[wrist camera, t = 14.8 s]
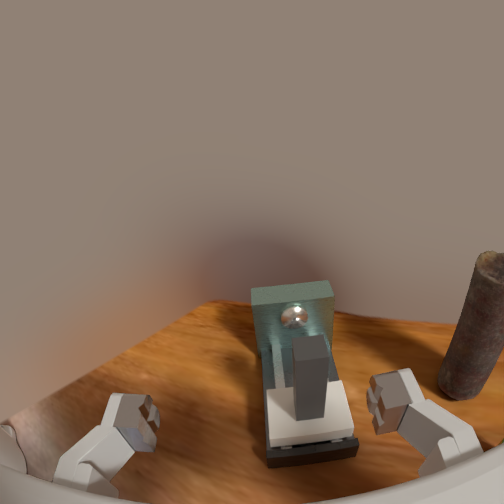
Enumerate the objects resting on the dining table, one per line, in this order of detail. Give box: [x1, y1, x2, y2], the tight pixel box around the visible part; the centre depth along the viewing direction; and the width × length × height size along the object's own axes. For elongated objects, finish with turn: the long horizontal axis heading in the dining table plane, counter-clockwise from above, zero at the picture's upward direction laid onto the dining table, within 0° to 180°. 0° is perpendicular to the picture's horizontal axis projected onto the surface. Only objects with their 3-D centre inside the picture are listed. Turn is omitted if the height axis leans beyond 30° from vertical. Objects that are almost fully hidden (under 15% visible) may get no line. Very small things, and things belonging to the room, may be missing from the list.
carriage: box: [266, 334, 354, 447], centre depth 31 cm, size 9×7×12 cm
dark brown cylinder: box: [438, 251, 504, 400], centre depth 31 cm, size 8×7×20 cm
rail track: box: [251, 280, 359, 468], centre depth 38 cm, size 11×22×10 cm, turn 1°
